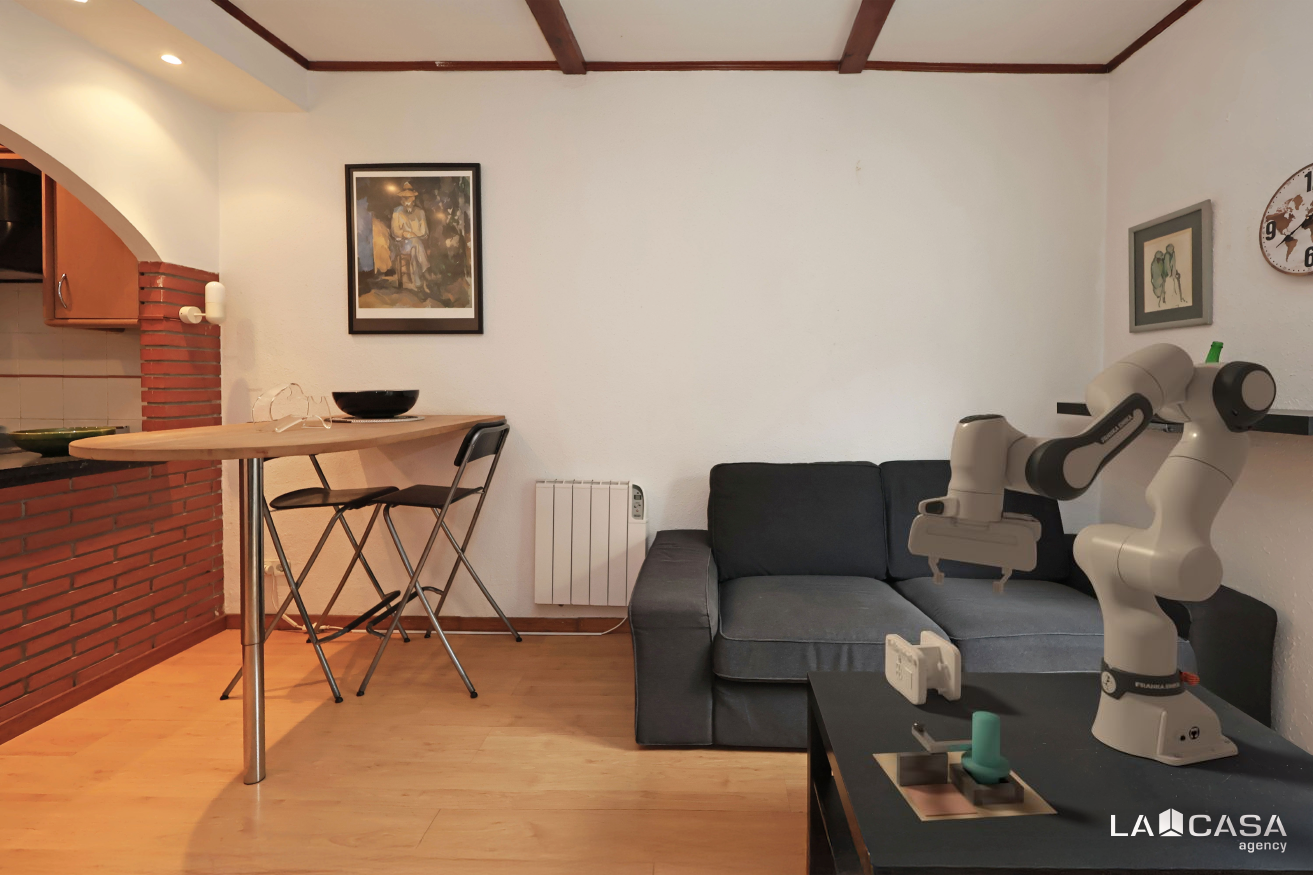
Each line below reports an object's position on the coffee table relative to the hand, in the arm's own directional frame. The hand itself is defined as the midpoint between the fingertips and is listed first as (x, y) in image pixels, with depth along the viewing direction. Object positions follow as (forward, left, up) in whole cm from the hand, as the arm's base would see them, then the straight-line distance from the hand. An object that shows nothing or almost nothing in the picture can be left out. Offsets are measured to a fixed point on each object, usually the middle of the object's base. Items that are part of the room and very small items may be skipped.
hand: (967, 588), depth 126 cm
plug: (+2, +11, -30) cm, 32 cm away
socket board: (+5, +8, -31) cm, 32 cm away
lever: (+5, +5, -24) cm, 25 cm away
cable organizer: (-5, -28, -31) cm, 42 cm away
